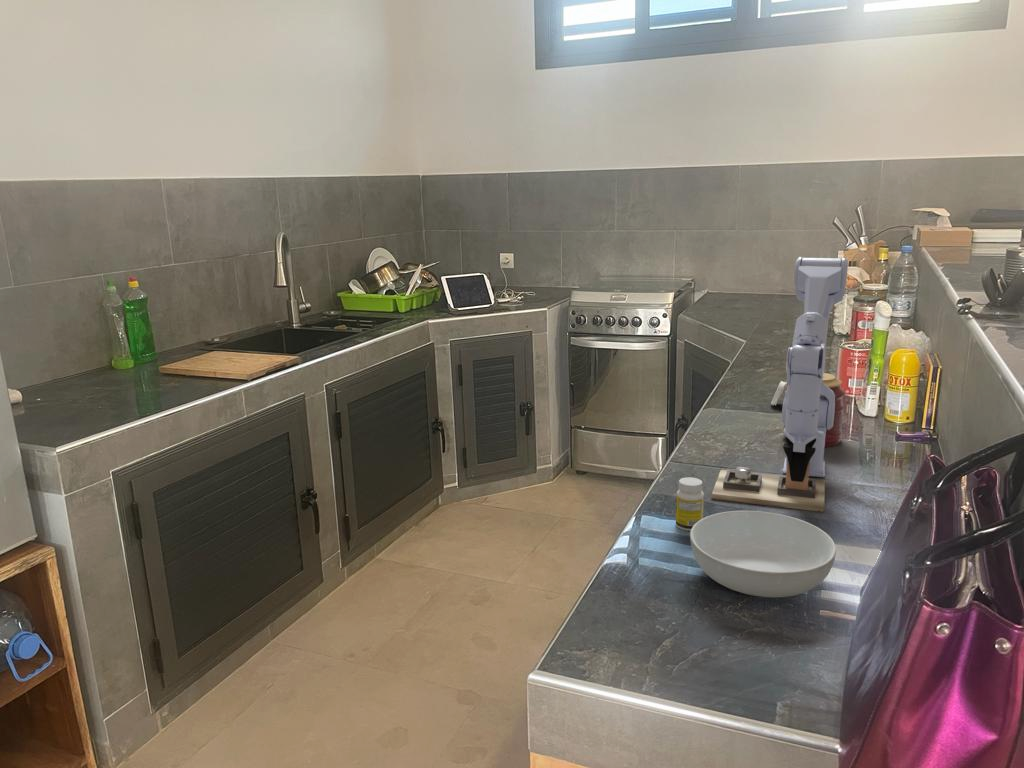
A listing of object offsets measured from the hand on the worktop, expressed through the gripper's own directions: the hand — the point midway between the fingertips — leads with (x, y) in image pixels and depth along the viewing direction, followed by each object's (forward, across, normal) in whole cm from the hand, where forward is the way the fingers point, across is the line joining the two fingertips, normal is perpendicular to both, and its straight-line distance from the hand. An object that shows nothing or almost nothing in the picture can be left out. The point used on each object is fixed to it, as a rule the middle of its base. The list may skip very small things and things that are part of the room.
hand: (797, 476), depth 150 cm
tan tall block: (+2, 0, 0) cm, 2 cm away
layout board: (+4, 0, +5) cm, 6 cm away
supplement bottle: (+4, -21, +17) cm, 27 cm away
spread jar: (+4, +64, +3) cm, 64 cm away
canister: (+4, +37, -2) cm, 37 cm away
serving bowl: (+4, -37, +4) cm, 37 cm away
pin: (+4, 0, +10) cm, 11 cm away
